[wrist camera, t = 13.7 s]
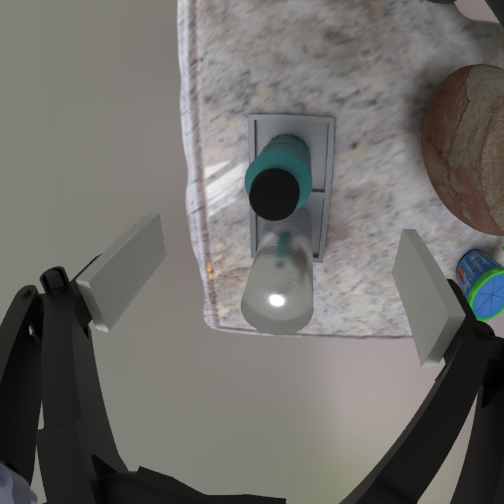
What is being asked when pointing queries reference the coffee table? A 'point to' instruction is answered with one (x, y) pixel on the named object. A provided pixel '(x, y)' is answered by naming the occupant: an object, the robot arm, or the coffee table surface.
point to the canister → (281, 277)
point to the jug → (468, 146)
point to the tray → (321, 150)
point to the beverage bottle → (280, 178)
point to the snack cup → (482, 284)
